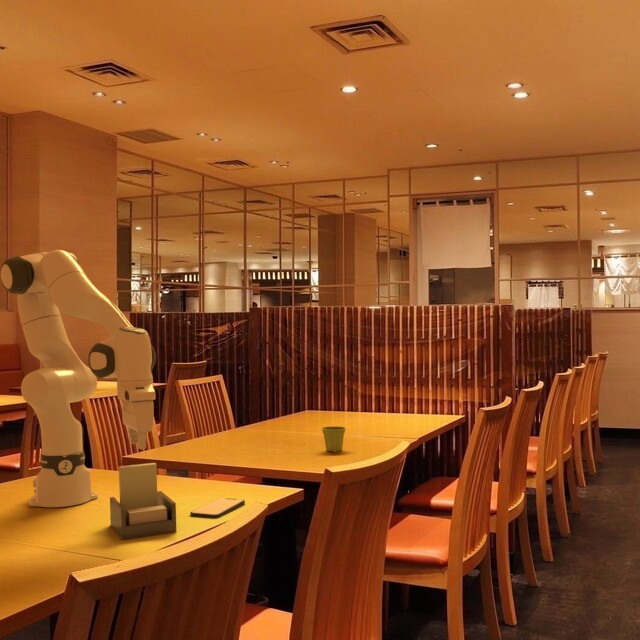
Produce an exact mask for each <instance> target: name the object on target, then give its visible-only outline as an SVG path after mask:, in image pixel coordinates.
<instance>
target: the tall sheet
mask: <svg viewBox="0 0 640 640" xmlns="http://www.w3.org/2000/svg"><path fill="white" fill-rule="evenodd" d="M157 469H158V468H157V463H156V462H149V463H140V464H130V465H122V466H121V465H120V466H118V476H119V477H118V481H119V483H118V485H119V486H118V487H119V503H120V504H121V505H122V506H123V508H124V509H125V512H126V516H127V510H131V509H138V508H146V507H154V506H158V500H157V491H158V476H157V475H158V472H157V471H158V470H157Z"/></svg>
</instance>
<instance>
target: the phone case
mask: <svg viewBox="0 0 640 640" xmlns="http://www.w3.org/2000/svg"><path fill="white" fill-rule="evenodd" d="M245 503H246V501H245V499H243V498H228V497H227V498H226V497H218V498H216V499H214V500H212V501H210V502H207V503H205V504H204V505H202V506H200V507H198V508H196V509H194V510H192V511H190V513H189V515H190V517H193V518H203V519H204V518H206V519H219V518H221V517H223V516H225V515H227V514H229V513H231V512H233V511H236V510H237V509H239V508H241V507H243V506H245V505H246V504H245Z"/></svg>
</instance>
